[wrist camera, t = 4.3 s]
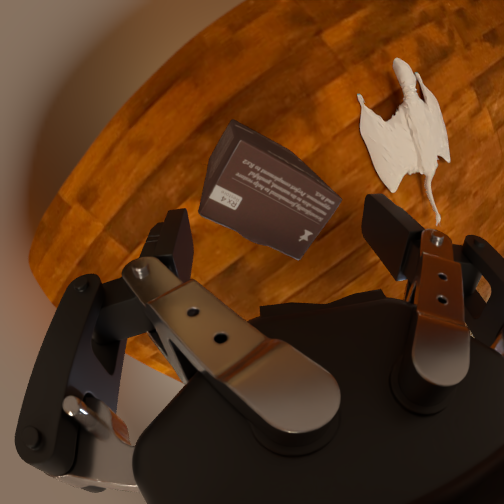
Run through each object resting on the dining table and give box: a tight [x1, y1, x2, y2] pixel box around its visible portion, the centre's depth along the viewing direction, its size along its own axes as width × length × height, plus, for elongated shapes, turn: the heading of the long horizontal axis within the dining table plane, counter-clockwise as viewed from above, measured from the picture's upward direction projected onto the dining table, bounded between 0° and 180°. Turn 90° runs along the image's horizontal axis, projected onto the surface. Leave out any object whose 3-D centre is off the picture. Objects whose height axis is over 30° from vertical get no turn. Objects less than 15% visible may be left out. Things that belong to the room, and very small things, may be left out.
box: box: [198, 120, 342, 260], centre depth 18 cm, size 6×4×12 cm
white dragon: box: [357, 58, 450, 225], centre depth 22 cm, size 18×10×4 cm, turn 29°
